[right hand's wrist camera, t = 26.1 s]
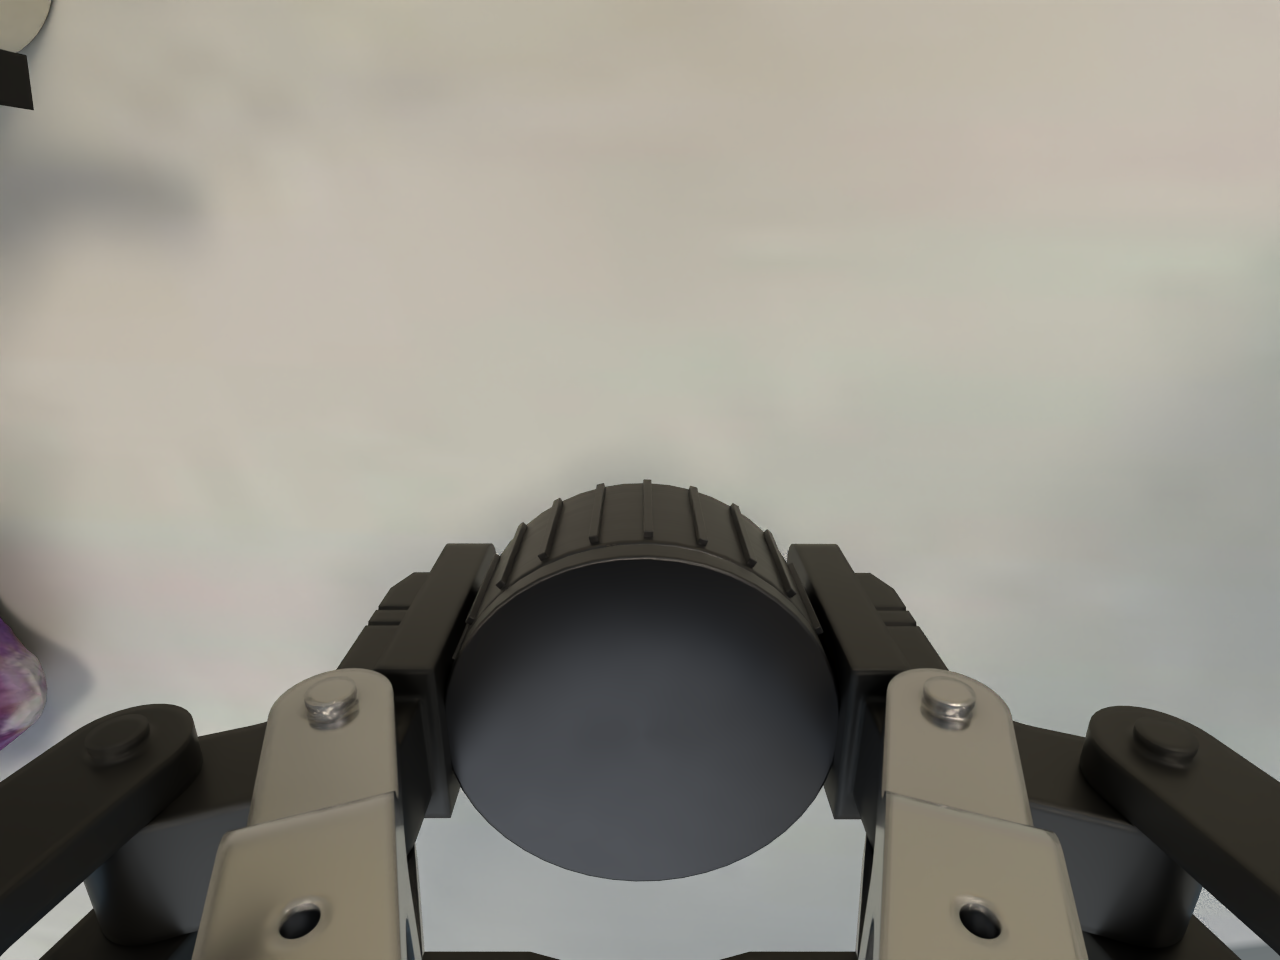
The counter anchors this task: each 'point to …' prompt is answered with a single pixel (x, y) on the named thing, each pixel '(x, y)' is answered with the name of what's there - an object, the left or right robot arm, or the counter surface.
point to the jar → (21, 22)
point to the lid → (641, 687)
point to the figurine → (18, 687)
